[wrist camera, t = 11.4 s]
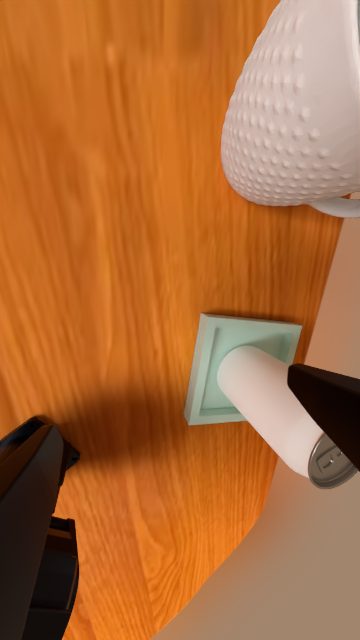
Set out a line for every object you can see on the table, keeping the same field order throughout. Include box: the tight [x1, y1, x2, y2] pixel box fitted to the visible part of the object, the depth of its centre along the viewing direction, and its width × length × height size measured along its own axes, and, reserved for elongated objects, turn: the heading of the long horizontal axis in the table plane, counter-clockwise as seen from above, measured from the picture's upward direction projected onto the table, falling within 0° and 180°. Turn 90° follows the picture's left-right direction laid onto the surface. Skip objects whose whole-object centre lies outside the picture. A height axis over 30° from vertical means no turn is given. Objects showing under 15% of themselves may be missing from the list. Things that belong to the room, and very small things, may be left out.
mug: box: [221, 0, 360, 218], centre depth 15 cm, size 15×11×13 cm
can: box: [217, 345, 359, 489], centre depth 19 cm, size 6×6×12 cm
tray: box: [184, 313, 302, 425], centre depth 25 cm, size 12×12×2 cm
